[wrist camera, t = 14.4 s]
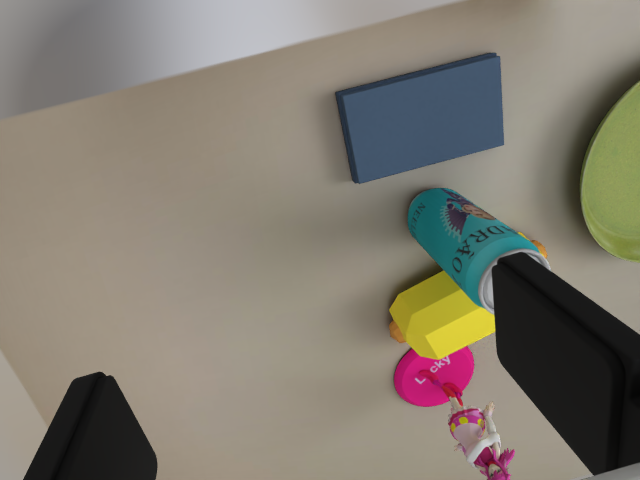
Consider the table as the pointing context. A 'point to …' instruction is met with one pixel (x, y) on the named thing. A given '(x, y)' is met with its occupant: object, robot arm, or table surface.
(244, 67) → the table surface
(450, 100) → the flat blue box
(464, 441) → the figurine
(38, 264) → the table surface
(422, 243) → the beverage can
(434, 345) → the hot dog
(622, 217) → the saucer
